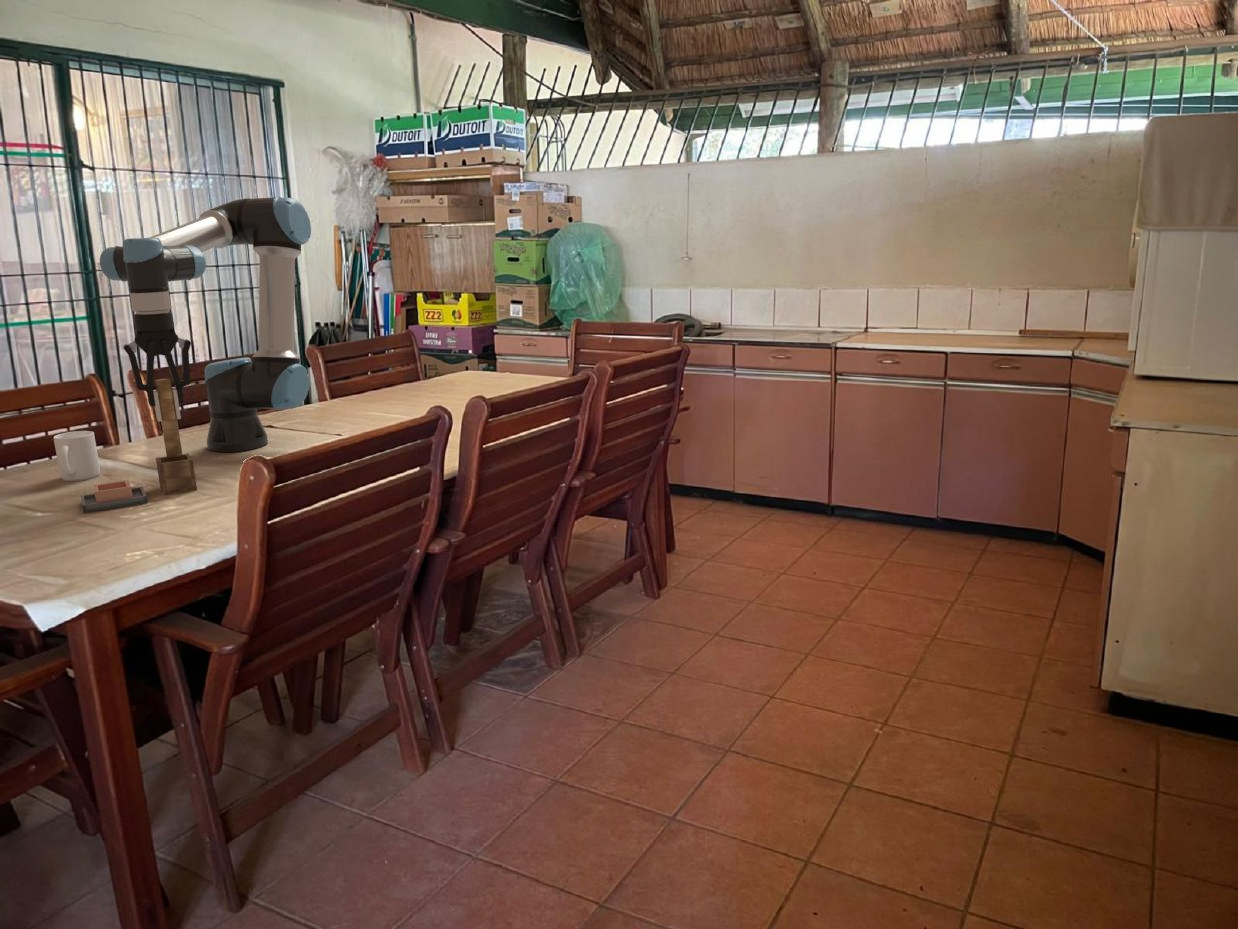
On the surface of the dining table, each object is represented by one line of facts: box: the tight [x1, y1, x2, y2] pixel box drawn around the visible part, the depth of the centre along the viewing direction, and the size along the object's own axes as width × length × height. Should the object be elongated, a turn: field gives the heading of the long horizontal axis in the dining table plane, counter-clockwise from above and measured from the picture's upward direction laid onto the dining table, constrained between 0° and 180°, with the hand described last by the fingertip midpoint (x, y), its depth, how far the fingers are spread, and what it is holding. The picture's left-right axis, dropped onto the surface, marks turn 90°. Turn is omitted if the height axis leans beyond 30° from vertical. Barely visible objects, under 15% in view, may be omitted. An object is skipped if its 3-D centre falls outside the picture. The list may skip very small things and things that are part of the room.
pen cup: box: [155, 453, 198, 495], centre depth 207 cm, size 7×7×7 cm
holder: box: [92, 479, 133, 503], centre depth 197 cm, size 7×7×3 cm
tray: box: [80, 486, 149, 514], centre depth 197 cm, size 12×9×2 cm
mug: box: [53, 430, 101, 482], centre depth 217 cm, size 12×8×10 cm
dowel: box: [154, 378, 183, 457], centre depth 204 cm, size 3×3×17 cm
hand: (168, 418), depth 204 cm, fingers closed on dowel, 3 cm apart
